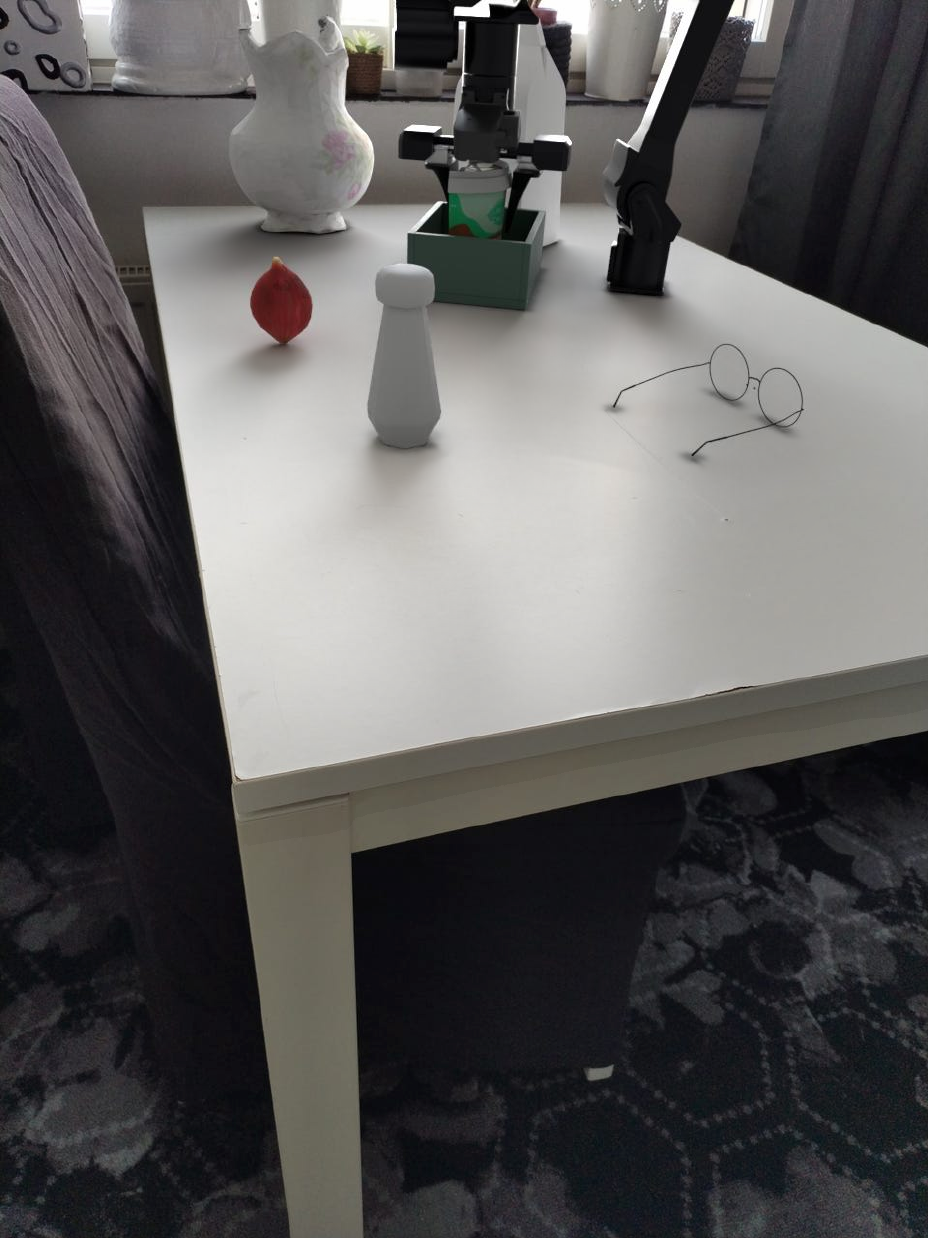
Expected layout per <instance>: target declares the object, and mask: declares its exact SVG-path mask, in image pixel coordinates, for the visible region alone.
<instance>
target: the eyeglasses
mask: <svg viewBox="0 0 928 1238" xmlns="http://www.w3.org/2000/svg"><path fill="white" fill-rule="evenodd" d="M722 346H730V347H733V348H735V349H736V350H737V351H738V352H739V354H741V356H742V357H743V359H744V362H745V364H746V365H745V366H746V368H747V369H746V370H747V383H746V384H745V386H746V388H745V390H744V392H743V393H742V395H741V396H739V397H738V398H735V399H730V398H727V397H725V396H724V395H722V394H721V393H720V392H719V390H718V389H717V387H716V386H715V383H714V380H713V377H712V371H711V370H712V366H711V365H712V360H713V356H714V354H715V352H716V351H717V350H718V349H719V348H720V347H722ZM707 364H709V367H708V368H709V376H710V381H711V384H712V386H713V388H714V389H715V391H716V393H717V394H718V395H719V396H720V397H721V398H723V399H724V400H726V401H730V402H735V401H738V400H740V399H741V398H743V397H744V396H745V394H746V393H747V390H748V388H749V385H750V379H753V380H755V381H757V382H758V387H757V388H756V386H753V387H752V390H755V389H756V391H757V400H758V405H759V408H760V410H761V412H762V414H763V416H764V417H765V419H766V420H767V421H768V422H769V423H771V424H768V425H765V426H761V427H757V428H754V429H750V430H747V431H746V430H745V431H743V432H738V433H735V434H732V435H727V436H721V437H718V438H715V439H710V440H707V441H704V443H702V444H701V445H700V446H699V447H698V448H697V449H696V450H695V451H694V452H692V453H691V455H690V456H691V457H694V456H695V455H696V454H697V453H699V451H700V450H702V448H703V447H704V446H706V445H707V444H709V443H714V442H718V441H722V440H726V439H728V438H732V437H736V436H739V435H743V434H747V433H751V432H755V431H758V430H762V429H766V428H769V427H772V426H776V427H778V428H788V427H791V426H793V425H794V424H795V423H796V422H797V421H798V420H799V418H800V417H801V414H802V412H803V411H804V410H805V409H804V408H803V405H804V397H803V392H802V388H801V385H800V384H799V381H798V380H797V378H796V377H795V375H794V374H792V373H791V372H790V371H788V370H787V369H785V368H782V367H772V368H769V369H768V370H767V371H765V372H764V373H763V374H762V377H761V378H760V379H759V378H757V377H754V376H750V368H749V365H748V362H747V359H746V357H745V355H744V353H743V352H742V351H741V350H740V349H739V348H738V347H737V346H735V345H733V344H731V343H722V344H719V345H718V346H717V347H716V348H715V349H714V350H713V352H712V354H711V356H710V359H709V361H708V362H707V361H706V362H705V363H701V364H695V365H690V366H685V367H681V368H677V369H673V370H670V371H666V372H664V373H662V374H659V375H657V376H653V377H651V378H648V379H646V380H644V381H641V382H639V383H637V384H632V385H631V386H628V387H626V388H624V389H622V390H620V391H619V394H618V395H617V398H616V399H615V401H614V403H613V405H612V408H613V409H615V408H616V406H617V404H618V401H619V400H620V397H621V395H622V393H623V392H625V391H628V390H631V389H633V388H636V387H637V386H640V385H642V384H645V383H646V382H649V381H653V380H655V379H657V378H660V377H661V376H664V375H667V374H670V373H674V372H677V371H680V370H685V369H691V368H695V367H696V368H697V367H701V366H705V365H707ZM773 370H782V371H784V372H786V373H787V374H789V375H790V376H791V377H793V379H794V381H795V382H796V384H797V387H798V388H799V392H800V397H801V398H800V399H801V405H800V410H797V411H794V412H793V413H791V414H790V415H789V416H787V417H785V418H783V419H781V420H779V421H777V422H772V421H771V420H770V418H769V417H768V416H767V415H766V413H765V412H764V409H763V408H762V405H761V399H760V386H761V383H762V381H763V378H764V377H765V375H766V374H767V373H769V372H770V371H773ZM798 413H799V415H798V416H797V417H796V419H795V420H794V421H793V422H792V423H791V424H789V425H778V424H779V423H782V422H784V421H785V420H788V419H789V418H791V417H792V416H794V415H796V414H798Z"/></svg>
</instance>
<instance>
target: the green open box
mask: <svg viewBox="0 0 928 1238" xmlns="http://www.w3.org/2000/svg"><path fill="white" fill-rule="evenodd" d="M507 209H508V207H505V209H504V217H503V225H502V233H501V240H498V239H487V238H476V237H465V236H454V235H449V209H448V205H447V202H446V201H440V200H439V201H438V200H437V202H436V203H435V204H434V205H433V206H432V207H431V208H430V209H428V211H427V212H426V213H424V215H423V216H422V217H421V218H420V220H418V222H417V223H415V225H413V226H412V228H411V229H410V230H409V231H408V232H407V234H406V235H407V237H406V241H407V243H406V246H407V247H406V254H407V255H406V264H413V265H417V266H421V267H424V268H426V269H428V270H429V271H430V272H431V273H432V274H433V277H434V285H435V293H434V299H433V302H441V303H450V304H451V303H452V304H460V305H469V306H481V307H491V308H502V309H509V310H511V309H512V310H521V311H526V310H527V307H528V304H529V301H530V298H531V297H532V294H533V290H534V288H535V285H536V283H537V280H538V278H539V274H540V272H541V270H542V269H541V268H542V259H543V250H544V249H543V238H544V228H545V217H546V211H544V210H532V209H521V208H518V209H517V212H516V215H515V217H514V220H513V223H512V225H511V228H510V231H509V233H508V234H505V220H506V214H507Z"/></svg>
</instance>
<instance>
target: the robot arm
mask: <svg viewBox="0 0 928 1238" xmlns="http://www.w3.org/2000/svg"><path fill="white" fill-rule="evenodd" d="M735 1H736V0H688V2H687V4H686V7H685V10H684V12H683V14H682V17H681V19H680V23H679V25H678V28H677V31H676V33H675V36H674V38H673V41H672V42H671V45H670V48H669V51H668V54H667V56H666V59H665V61H664V64H663V66H662V68H661V71H660V74H659V76H658V79H657V81H656V84H655V86H654V89H653V92H652V94H651V96H650V100H649V102H648V105H647V107H646V110H645V112H644V115H643V118H642V120H641V123H640V125H639V126H638V129H637V130H636V131H635V132H634V134H633V135H632V137H631V138H630V139H629V140H628V142H627V143H626V142H624V141H622V140H621V139H619V138H617V139H616V140H615V142H614V145H613V147H612V148H613V149H612V153H611V156H610V161H609V163H608V165H607V167H606V168H605V169H604V170H603V172H601V176H602V177H603V178H604V179H605V181H604V185H603V194H604V198H605V201H606V203H607V204H608V206H609V207H610V209H611V210H612V211H614V213H615V216H616V222H617V224H618V225H619V226H621V227H618V230H617V238H616V240H613V241H612V242H611V246H610V250H609V259H608V266H607V272H606V281H607V283H609V287H608V289H609V291H615V292H625V293H635V294H646V295H654V296H655V295H657V296H663V295H665V294H664V293H665V278H666V273H667V266H668V262H669V261H668V260H669V255H670V250H671V244H672V243H673V242H674V241H675V239H676V238H677V236H678V234H679V231H680V230H681V228H682V222H681V221H680V220H679V218H678V217H677V216H676V214H675V213H674V211H673V210H672V209H671V207H670V205H669V204H668V203H667V197H668V193H669V190H670V186H671V181H672V178H673V173H674V161H675V153H676V144H677V141H678V138H679V136H680V133H681V132H682V128H683V126H684V124H685V121H686V118H687V116H688V114H689V112H690V109H691V107H692V104H693V102H694V99H695V97H696V95H697V92H698V90H699V88H700V85H701V83H702V80H703V78H704V76H705V73H706V70H707V69H708V66H709V63H710V61H711V58H712V56H713V54H714V51H715V49H716V46H717V44H718V41H719V39H720V37H721V34H722V32H723V30H724V27H725V26H726V25H725V24H726V22H727V20H728V17H729V14H730V12H731V10H732V8H733V5H734V3H735ZM394 2H395V3H394V27H393V28H392V64H393V65H392V67H393V71H409V72H431V73H432V72H433V73H447V72H448V64H453V62H458V59H459V48H460V47H459V46H460V22H462V23H464V27H463V28H464V29H463V30H464V31H463V56H462V57H463V58H462V75H463V77H462V97H461V104H460V107H459V110H458V113H457V116H456V120H455V123H454V126H453V125H452V128H453V136H452V135H445V134H443V129H442V126H432V125H420V124H411V125H410V126H408V127H407V128H405V129H404V130H403V131H402V132H401V133H400V134H399V135H398V143H397V145H398V147H397V150H398V152H397V153H398V155H397V156H398V157H397V158H398V159H400V160H408V161H421V162H425V161H426V162H425V163H424V169H426V170H429V171H432V172H433V173H434V175H435V176H436V178H437V180H438V181H439V184H440V187H441V189H442V192H443V194H444V198H445V202H447V205H448V209H449V193H448V182H449V171H459V164H458V161H467V160H477V161H483V162H484V163H495V162H497V161H498V160H499V158H505V159H517V163H519V164H518V166H517V167H516V168H515V170H514V171H513V178H512V187H511V192H510V198H509V203H508V209H507V214H506V220H505V234H508V233H509V231H510V228H511V225H512V223H513V220H514V217H515V215H516V212H517V209H518V206H519V204H520V201H521V198H522V196H523V193H524V191H525V189H526V187H527V185H528V183H529V181H530V179H531V178H539V177H540V176H541V174H542V172H543V170H548V171H562V172H567V171H568V169H569V166H570V164H571V157H572V145H573V144H572V141H571V139H570V138H569V136H568V135H564V136H557V135H544V134H537V136H536V137H535V138H534V140H533V142H528V141H520V136H521V111H520V110H514V101H515V86H516V71H517V56H518V41H519V26H520V24H523V25H537V24H538V23H539V19H540V17H539V16H538V15H537V14H536V12H535V11H534V10H533V9H532V7H531V6H530V3H529V0H516V1H515V3H514V4H510V3H490V2H489V3H486V5H485V10H484V14H459V13H455V8H473V7H475V6H476V5H478V4H479V3H480V2H482V0H394ZM453 156H454V158H453Z"/></svg>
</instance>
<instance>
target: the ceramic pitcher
mask: <svg viewBox="0 0 928 1238" xmlns="http://www.w3.org/2000/svg"><path fill="white" fill-rule="evenodd" d="M252 24H253V23H252V21H248V22H247V21H246V22H241V23H239V25H235V28H236V30H237V33H238V40H239V42H240V46H241V48H242V51H243V54H244V57H245V58H246V61H247V65H248V66H249V70H250V73H251V75H252V78H253V83H254V89H255V96H256V98H255V102H254V105H253V107H252V109H251V110H250V112H249V113H248V114H247V115H246V116H245V117H244V118H243V119H242V120H240V122H239V123H238V124H237V125H236V126H234V128H233V129H232V130H231V133H230V134H229V138H228V139H229V140H228V155H229V156H228V157H229V161H230V162H229V163H230V166H231V170H232V173H233V176H234V178H235V181H236V182H237V185H238V186H239V187H240V189H241V191H242V192H243V193H244V195H245V196H246V198H248V199H249V201H250V202H251V203H253V204H254V205H256V206H258V207H259V208H261V209H263V210H265V211H266V212H267V216H266V218H265V219H264V222H263V223H261V226H260V228H261V229H262V230H263V231H264V232H265V231H266V232H269V233H270V232H271V233H281V232H282V233H283V232H302V233H303V232H304V233H312V234H313V233H314V234H319V235H320V234H326V233H333V232H336V231H344V230H345V231H346V230H347V229H348V228H347V225H346V223H345V221H344V218H343V216H342V215H341V211H342V212H343V211H345V210H348V209H350V208H352V207H353V206H355V205H356V204H357V203H358V202H359V201H360V200H361V199H362V197H363V196H364V194H365V193H366V191H367V189H368V187H369V185H370V183H371V179H372V177H373V172H374V166H375V152H374V146H373V142H372V140H371V138H370V137H369V135H368V134H367V132H365V130H364V129H362V128H361V126H360V125H358V123H357V122H356V121H355V120H354V118H353V117H352V116H351V114H349V113H348V110H347V108H346V106H345V105H346V86H347V85H346V83H347V71H348V68H349V66H350V64H349V63H350V62H349V56H348V51H347V49H346V45H345V41H344V38H343V35H342V32H341V30H340V28H339V27H338V25H337V20H334V17H331V15H328V14H326V15H325V16H323V15H322V16H319V19H318V20H317V24H318V29H319V32H318V34H317V35H318V36H317V39H316V38H315V37H314V36H312V35H310V34H308V33H306V32H303V31H300V30H299V29H296V30H292V31H289V32H288V33H285V34H283V35H281V36H273V37H272V38H271V39H269V40H268V41H267V42H265V43H263V42H260V41H259V40H258V39H256V38H255V36H254V34H253V32H252V27H251V25H252Z"/></svg>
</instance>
